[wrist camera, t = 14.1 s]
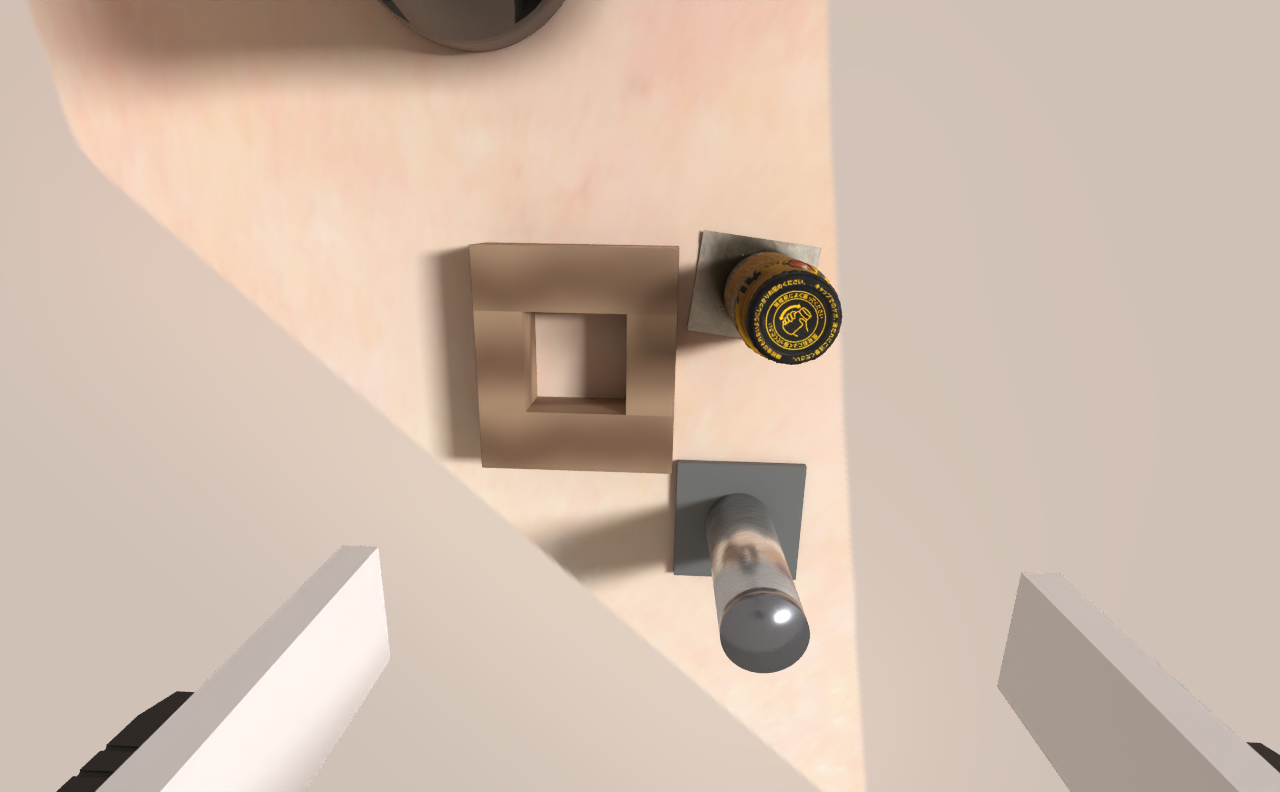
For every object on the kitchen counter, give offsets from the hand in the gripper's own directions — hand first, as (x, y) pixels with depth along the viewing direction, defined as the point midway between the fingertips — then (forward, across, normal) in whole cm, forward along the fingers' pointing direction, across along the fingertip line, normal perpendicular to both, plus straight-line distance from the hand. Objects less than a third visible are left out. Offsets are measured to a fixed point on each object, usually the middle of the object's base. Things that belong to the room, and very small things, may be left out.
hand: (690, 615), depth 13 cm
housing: (+35, -7, -2) cm, 35 cm away
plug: (+34, +6, -16) cm, 38 cm away
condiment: (+35, +6, +3) cm, 36 cm away
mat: (+35, +6, -16) cm, 38 cm away
